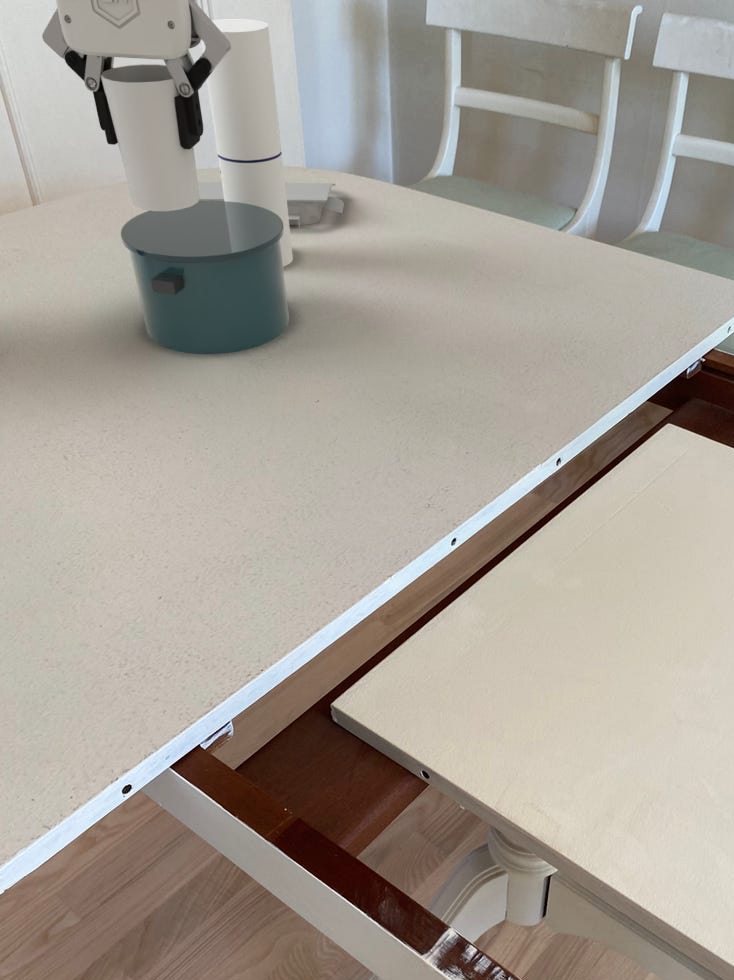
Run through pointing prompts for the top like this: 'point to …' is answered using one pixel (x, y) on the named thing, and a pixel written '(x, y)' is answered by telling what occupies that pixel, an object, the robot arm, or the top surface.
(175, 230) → the pot
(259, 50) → the cylindrical container
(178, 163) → the white cup
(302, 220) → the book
